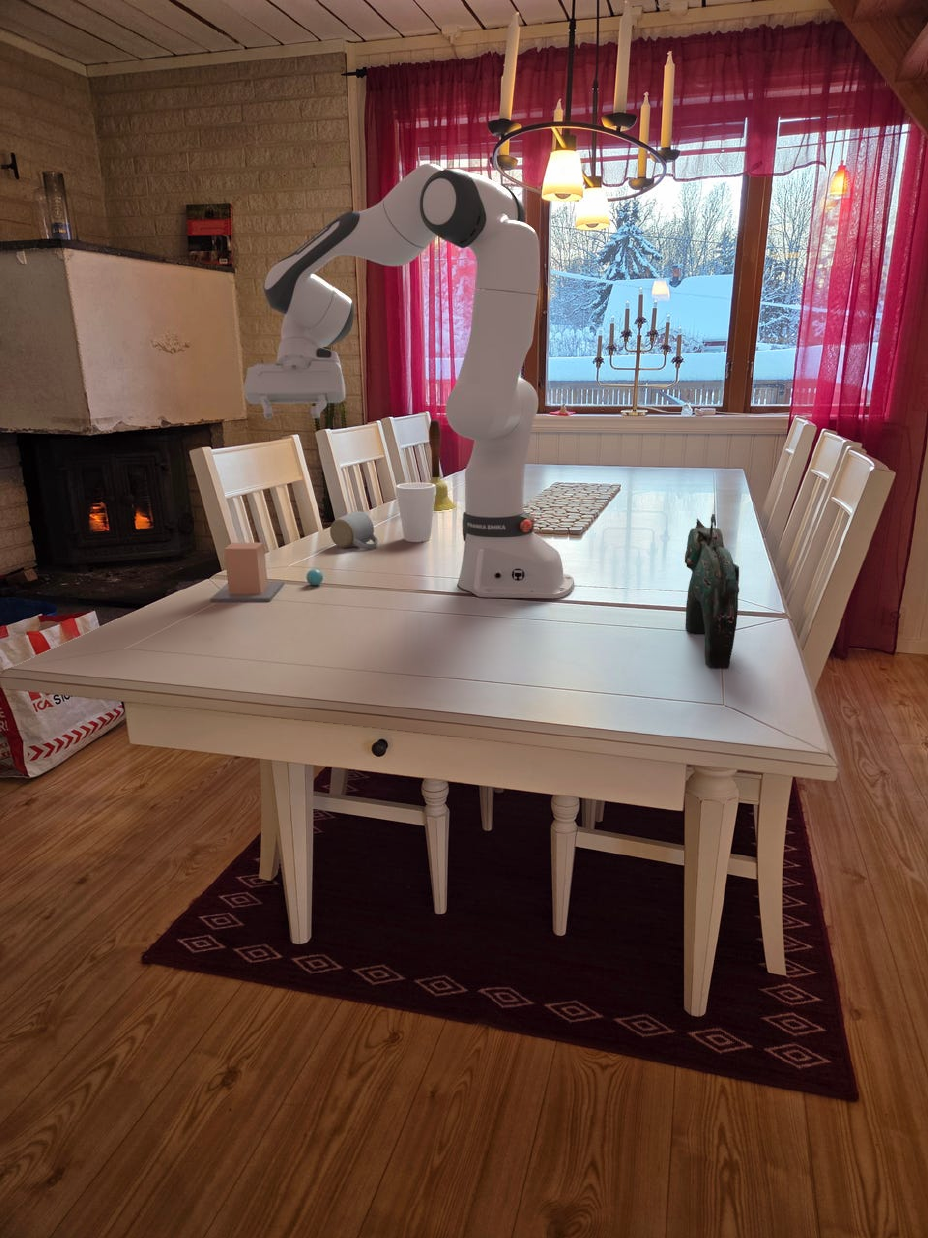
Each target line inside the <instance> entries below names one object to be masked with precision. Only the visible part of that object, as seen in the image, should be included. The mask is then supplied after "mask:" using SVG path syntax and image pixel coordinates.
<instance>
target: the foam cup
mask: <svg viewBox="0 0 928 1238" xmlns="http://www.w3.org/2000/svg"><path fill="white" fill-rule="evenodd" d="M435 495H436V485H435V484H431V483H428V482H407V483H405V482H404V483H399V484H396V486H395V496H396V498H397V504H398V507H399V508H398V510H399V514H400V516H399V517H400V519H401V520H400V522H401V527H402V533H403V537H404V538H403V539H404V541H406V542H410V543H411V542H413V543H422V541H423V542H428V541H430V540H431V539H430V538H431V536H432V528H433V520H434V513H433V511H434V502H435ZM429 539H430V540H429ZM427 540H428V541H427Z"/></svg>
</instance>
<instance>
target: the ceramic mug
mask: <svg viewBox="0 0 928 1238" xmlns="http://www.w3.org/2000/svg"><path fill="white" fill-rule="evenodd" d="M374 530H375V527H374V523H373V521H372V519H371V517H370V516H369V515H368V514H367V513H366V512H364V511H360V510H356V511H353V512H351V513H348V514H345V515H343V516H341V517H338V518H337V519H335V520H333V522H332V523H331V524H330V528H329V533H330V538H331V540H332V542H333V543H334V544H335V545H336V546H337V547H339V548H341V549H349V548H353V547H357V548H359V549H362V550H369V551H370V550H374V549H376V547H377V544H378V538H377V536H376V535H375V534H374V533H375V531H374ZM370 541H372V542H373V543H369V542H370Z"/></svg>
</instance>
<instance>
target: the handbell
mask: <svg viewBox="0 0 928 1238" xmlns="http://www.w3.org/2000/svg"><path fill="white" fill-rule="evenodd" d="M440 427H441V426H440V422H439V420H438V419H431V420H430V423H429V430H428V443H429V446H430V450H431V452H430V453H431V479H430V481H428V482H427V483H431V484H435V485H436V495H435V502H434V511H442V510H449V509H453V508H455V507H456V506H457V504H455V503H454V502H453V501H452V500H451V499H450V497H449V496H448V495H449V494H448V492H449V491H448V490H449V489H448V485H447V484H446V483H445V482H444V481H443V480H442V479H441V477H440V448H441V444H442V436H441V433H442V432H441V428H440Z"/></svg>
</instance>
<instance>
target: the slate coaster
mask: <svg viewBox="0 0 928 1238" xmlns="http://www.w3.org/2000/svg"><path fill="white" fill-rule="evenodd" d="M267 583H268V586H267V587H266V589H265V590H264V591H263V592H262V593H261V594H229V588H228V582H227V583H226V584H225V585H223V586H222V587H221V588H220V590H218V591H217V592H216V593H215V594H214V595H212V596H211V597H210V598H209V599H210V602H213V603H214V602H217V603H218V602H222V603H223V602H225V603H227V602H235V603H236V602H271V601H272V600H273V598H274V597H275V596H276V595H277V594H278V592H279V591H281V589H282V588H283V587H284V586H285V581H267Z"/></svg>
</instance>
